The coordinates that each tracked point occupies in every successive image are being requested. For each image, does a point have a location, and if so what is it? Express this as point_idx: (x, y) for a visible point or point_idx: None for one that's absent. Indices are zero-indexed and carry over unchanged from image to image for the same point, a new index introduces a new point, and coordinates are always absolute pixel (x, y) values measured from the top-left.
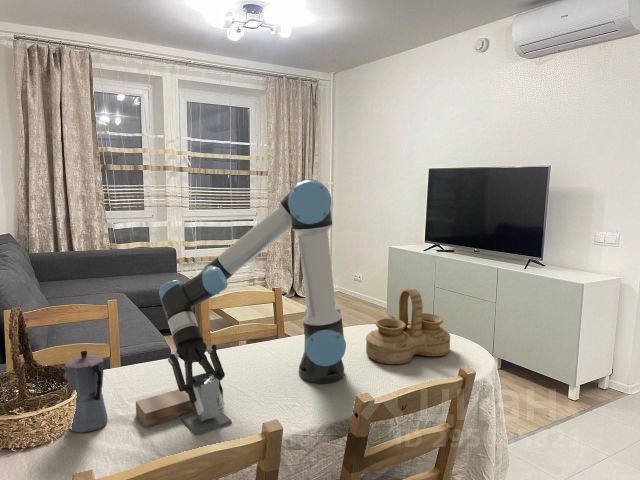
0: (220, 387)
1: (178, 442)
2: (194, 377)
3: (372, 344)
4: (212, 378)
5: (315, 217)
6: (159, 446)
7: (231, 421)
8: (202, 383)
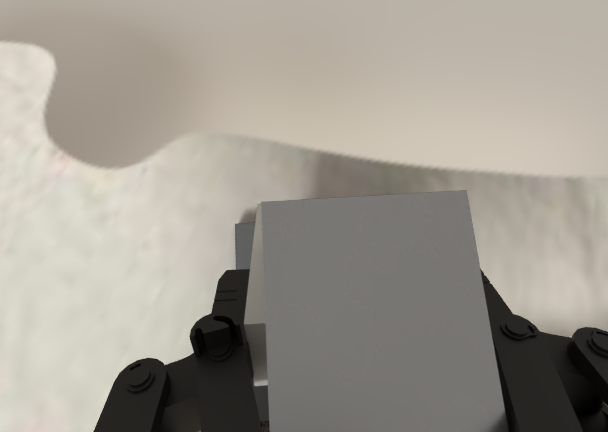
0: (227, 300)
1: (487, 209)
2: (486, 420)
3: None
4: (305, 276)
5: None
6: (564, 223)
7: (236, 224)
8: (442, 216)
